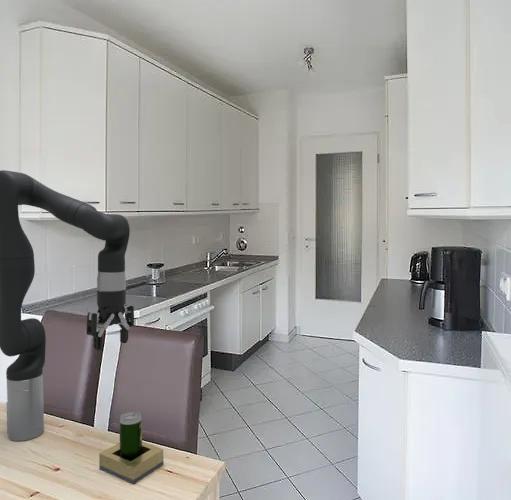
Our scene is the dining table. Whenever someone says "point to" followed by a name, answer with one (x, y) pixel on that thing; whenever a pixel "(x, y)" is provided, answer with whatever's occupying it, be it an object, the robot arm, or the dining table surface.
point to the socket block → (131, 462)
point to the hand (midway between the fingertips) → (111, 346)
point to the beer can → (130, 435)
